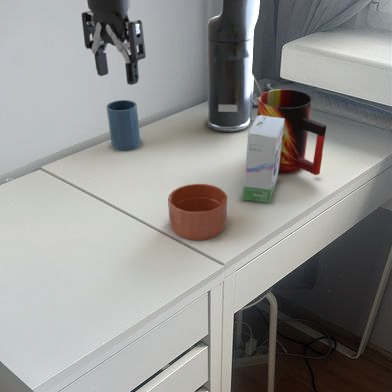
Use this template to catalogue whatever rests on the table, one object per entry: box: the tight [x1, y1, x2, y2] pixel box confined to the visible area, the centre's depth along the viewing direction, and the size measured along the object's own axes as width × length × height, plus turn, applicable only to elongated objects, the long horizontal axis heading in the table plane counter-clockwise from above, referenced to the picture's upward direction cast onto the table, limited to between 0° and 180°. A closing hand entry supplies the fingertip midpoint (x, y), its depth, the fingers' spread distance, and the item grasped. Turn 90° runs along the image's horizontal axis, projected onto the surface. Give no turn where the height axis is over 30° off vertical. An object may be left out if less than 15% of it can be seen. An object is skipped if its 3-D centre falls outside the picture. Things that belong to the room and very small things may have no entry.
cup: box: [106, 99, 141, 152], centre depth 104 cm, size 6×6×8 cm
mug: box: [257, 88, 327, 176], centre depth 95 cm, size 10×14×12 cm
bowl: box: [167, 183, 228, 241], centre depth 82 cm, size 9×9×5 cm
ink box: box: [242, 115, 285, 204], centre depth 88 cm, size 9×5×12 cm, turn 164°
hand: (117, 79), depth 98 cm, fingers open, 8 cm apart
